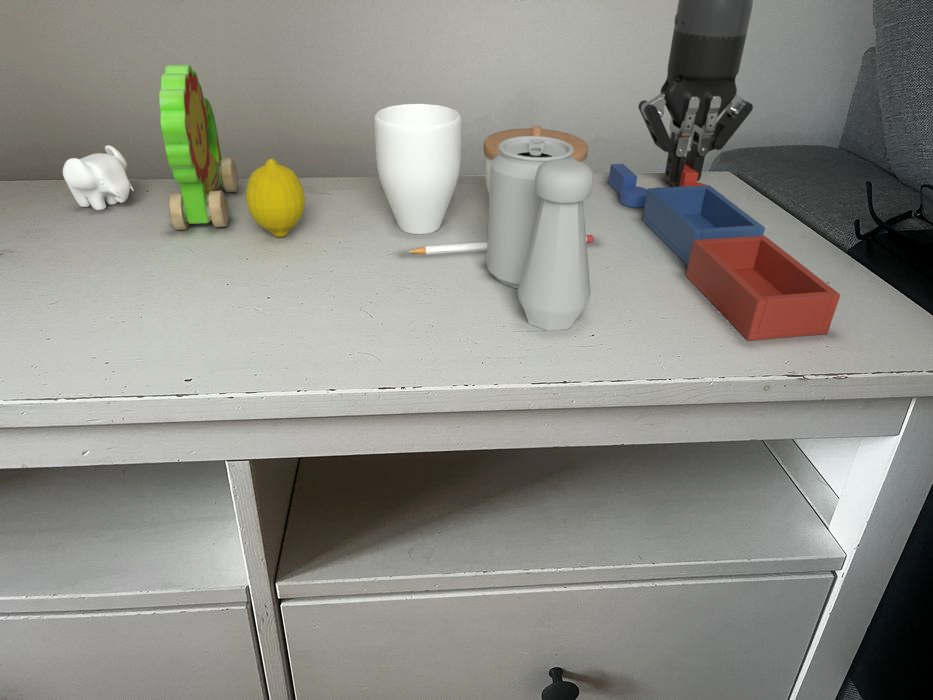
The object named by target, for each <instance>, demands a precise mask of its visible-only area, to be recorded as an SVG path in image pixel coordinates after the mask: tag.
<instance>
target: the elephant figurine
mask: <svg viewBox="0 0 933 700" xmlns="http://www.w3.org/2000/svg"><path fill="white" fill-rule="evenodd" d="M104 151H105V152H106V153H101V152H98V153H97V152H96V153H91V154H88V155H86V156H84V157H81V158H77V157H72V158H68V159H67V160H66V161H65V162H64V165H63V167H62V176H63V178H64V181H65V183H66V185H67V188H68V189H69V191H70V193H71V194H72V197H73V198H74V200H75V202H76V203H77V204H78V206H79V207H82V208H88V207H90V206H91V207H92V208H93V210H96V211H103V210H105V209H106V208H107V204H108V205H111V206H112V205H117V204H118V203H119V204H121V203H125V202H126V201H127V200H128V198H129V195H130V190H132V191H133V192H134V191H135V190H134V188H133V187H132V183H131V181H130V179H129V178H128V175H127V172H128V171H127V170H128V163H127V160H126V158H125V156H123V154H122V153H121V152H120V151H119V150H118V149H116V148H115V147H114V146H112V145H105V146H104Z"/></svg>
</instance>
